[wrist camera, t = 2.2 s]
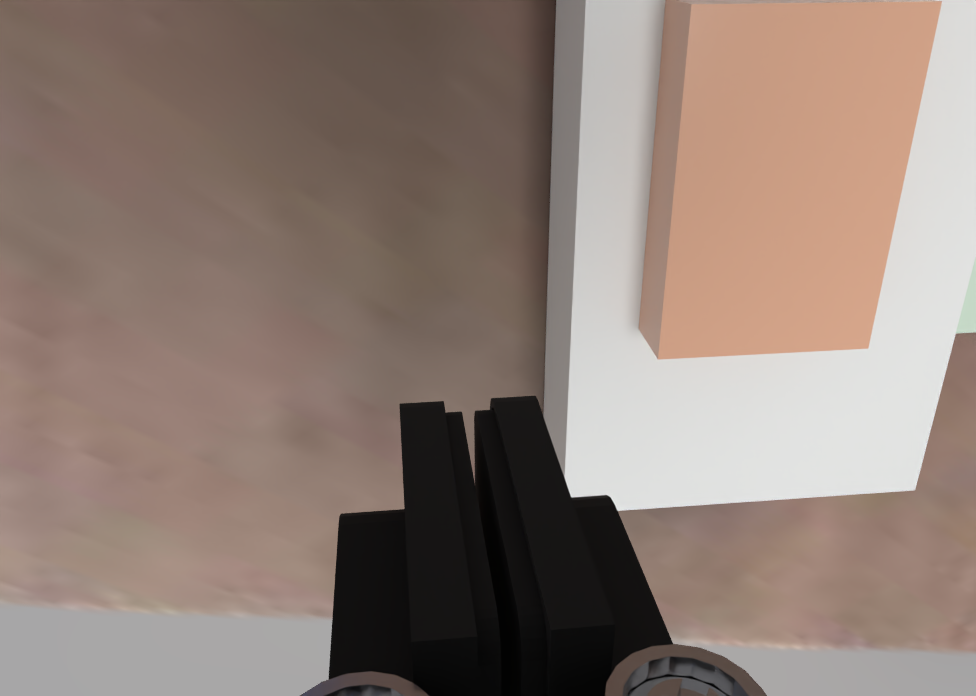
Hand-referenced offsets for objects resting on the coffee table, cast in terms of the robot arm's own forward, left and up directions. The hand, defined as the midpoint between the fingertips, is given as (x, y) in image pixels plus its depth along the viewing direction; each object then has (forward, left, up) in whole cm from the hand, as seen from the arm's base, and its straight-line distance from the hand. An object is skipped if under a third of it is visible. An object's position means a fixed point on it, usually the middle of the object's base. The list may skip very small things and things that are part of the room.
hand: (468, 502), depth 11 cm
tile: (0, +9, -14) cm, 16 cm away
